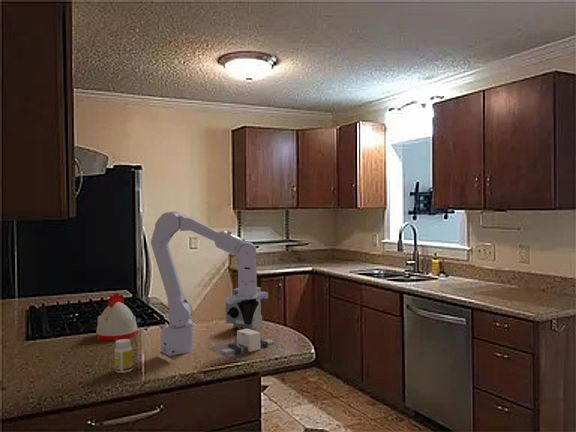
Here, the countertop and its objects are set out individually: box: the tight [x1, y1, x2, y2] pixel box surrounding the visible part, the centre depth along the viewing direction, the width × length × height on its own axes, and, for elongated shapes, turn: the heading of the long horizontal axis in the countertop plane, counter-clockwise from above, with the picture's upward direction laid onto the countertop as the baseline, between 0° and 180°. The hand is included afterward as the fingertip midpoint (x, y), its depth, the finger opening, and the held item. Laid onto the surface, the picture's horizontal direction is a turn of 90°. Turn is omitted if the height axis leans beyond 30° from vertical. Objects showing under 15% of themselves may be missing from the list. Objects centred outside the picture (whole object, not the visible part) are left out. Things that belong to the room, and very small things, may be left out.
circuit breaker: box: [224, 286, 263, 330], centre depth 189 cm, size 8×14×15 cm, turn 152°
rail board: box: [206, 337, 281, 358], centre depth 166 cm, size 20×12×2 cm, turn 129°
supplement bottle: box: [114, 338, 134, 374], centre depth 147 cm, size 5×5×8 cm
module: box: [236, 328, 261, 353], centre depth 164 cm, size 4×7×5 cm, turn 39°
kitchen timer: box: [95, 292, 139, 341], centre depth 185 cm, size 14×14×15 cm
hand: (247, 323), depth 164 cm, fingers closed
